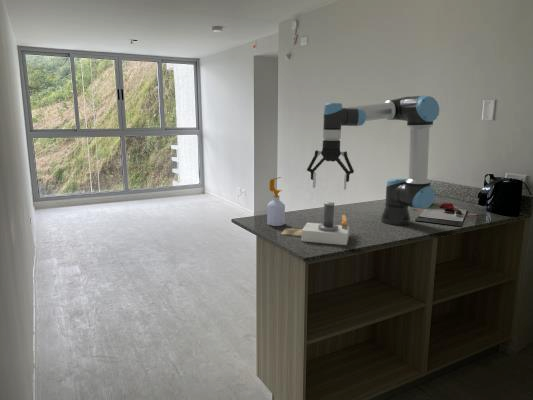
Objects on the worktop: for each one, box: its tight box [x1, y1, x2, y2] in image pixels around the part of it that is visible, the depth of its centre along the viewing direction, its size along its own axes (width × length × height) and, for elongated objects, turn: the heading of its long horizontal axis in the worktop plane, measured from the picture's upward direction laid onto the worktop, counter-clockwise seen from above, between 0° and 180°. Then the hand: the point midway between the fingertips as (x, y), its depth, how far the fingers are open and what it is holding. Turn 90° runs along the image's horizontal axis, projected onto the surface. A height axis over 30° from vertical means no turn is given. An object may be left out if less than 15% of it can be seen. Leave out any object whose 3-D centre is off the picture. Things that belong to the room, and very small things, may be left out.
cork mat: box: [280, 227, 303, 237], centre depth 196 cm, size 10×10×1 cm
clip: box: [341, 214, 348, 226], centre depth 192 cm, size 15×3×1 cm, turn 171°
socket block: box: [300, 222, 350, 246], centre depth 187 cm, size 20×14×6 cm
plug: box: [318, 201, 338, 231], centre depth 185 cm, size 9×9×17 cm
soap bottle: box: [266, 176, 286, 227], centre depth 209 cm, size 9×9×25 cm
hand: (329, 188), depth 181 cm, fingers open, 13 cm apart
